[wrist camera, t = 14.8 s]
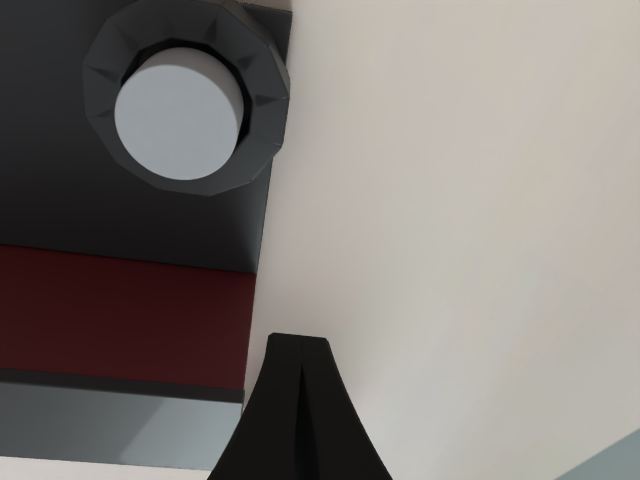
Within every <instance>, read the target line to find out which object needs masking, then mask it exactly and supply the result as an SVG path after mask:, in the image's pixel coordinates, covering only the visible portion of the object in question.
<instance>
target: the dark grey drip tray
mask: <svg viewBox="0 0 640 480" xmlns="http://www.w3.org/2000/svg"><path fill="white" fill-rule="evenodd" d="M291 23H292V12H290V11H285V10H279V9H274V8H269V7H263V6H258V5H253V4H247V3H242V2H236V1H235V0H0V244H8V245H17V246H25V247H34V248H42V249H50V250H59V251H67V252H76V253H84V254H92V255H101V256H109V257H118V258H126V259H134V260H143V261H151V262H160V263H168V264H176V265H185V266H193V267H202V268H210V269H218V270H227V271H235V272H244V273H252V274H257V269H258V262H259V255H260V248H261V240H262V233H263V226H264V219H265V211H266V204H267V197H268V190H269V182H270V175H271V168H272V161H273V157H274V156H275V155H276V153H277V152H278V151H279V150H280V149H281V147H282V144H283V141H284V134H285V127H286V121H287V114H288V107H289V100H290V77H289V74H288V72H287V69H286V67H285V66H286V59H287V52H288V44H289V37H290V30H291ZM175 47H185V48H192V49H197V50H200V51H203V52H205V53H207V54H209V55H211V56H213V57H214V58H216V59H217V60H219V61H220V62H221V63H222V64H223V65H225V66H226V67H227V69H228V70H229V71H230V72H231V73H232V75H233V76H234V78H235V79H236V81H237V83H238V85H239V88H240V90H241V93H242V97H243V105H244V110H243V118H242V122H241V126H240V130H239V134H238V138H237V142H236V145H235V148H234V150H233V152H232V154H231V156H230V157H229V159H228V160H227V161H226V163H225V164H224V165H223V166H222V167H220V168H219V169H218V170H216V171H215V172H213V173H211V174H209V175H207V176H205V177H201V178H197V179H191V180H178V179H172V178H167V177H164V176H161V175H158V174H156V173H154V172H152V171H150V170H148V169H147V168H145V167H144V166H142V165H141V164H140V163H139V162H137V161H136V160H135V159H134V158H133V157H132V156H131V154H130V153H129V152H128V151H127V149H126V148H125V146H124V145H123V143H122V141H121V139H120V137H119V134H118V132H117V128H116V124H115V116H114V115H115V104H116V99H117V96H118V94H119V92H120V90H121V88H122V86H123V85H124V84H125V82H126V81H127V80H128V79H129V78H130V77H131V76H132V75H133V74H134V73H135V72H136V71H137V70H138V69H139V68H140V67H141V66H142V65H143V63H144V62H146V61H147V60H148V59H149V58H150V57H151V56H153V55H154V54H156V53H158V52H160V51H163V50H166V49H169V48H175Z"/></svg>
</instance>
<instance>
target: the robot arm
mask: <svg viewBox="0 0 640 480" xmlns="http://www.w3.org/2000/svg"><path fill="white" fill-rule="evenodd" d="M207 480H393V479H392V477H391V476H390V474H389V472H388V471H387V469H386V467H385V466H384V464H383V462H382V461H381V459H380V457H379V455H378V454H377V452H376V450H375V448H374V446H373V444H372V442H371V441H370V439H369V437H368V435H367V433H366V431H365V429H364V427H363V425H362V423H361V421H360V419H359V417H358V415H357V413H356V410H355V408H354V406H353V404H352V402H351V400H350V398H349V395H348V393H347V391H346V388H345V386H344V383H343V381H342V378H341V376H340V373H339V371H338V368H337V366H336V363H335V360H334V357H333V354H332V351H331V348H330V344H329V342H328V341H327V339H326V338H321V337H312V336H302V335H292V334H283V333H272V334H270V335H269V336H268V341H267V347H266V353H265V358H264V361H263V365H262V368H261V371H260V374H259V377H258V379H257V382H256V384H255V387H254V389H253V392H252V394H251V396H250V399H249V401H248V404H247V406H246V408H245V410H244V412H243V414H242V416H241V418H240V420H239V422H238V424H237V426H236V428H235V430H234V432H233V434H232V436H231V438H230V440H229V442H228V444H227V446H226V448H225V450H224V451H223V453H222V455H221V457H220V458H219V460H218V462H217V464H216V465H215V467H214V469H213V470H212V472H211V474H210V475H209V477H208V479H207Z"/></svg>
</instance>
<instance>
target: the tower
mask: <svg viewBox="0 0 640 480" xmlns="http://www.w3.org/2000/svg"><path fill="white" fill-rule="evenodd" d="M256 277H257V274H252V273H244V272H235V271H227V270H218V269H210V268H202V267H193V266H185V265H176V264H168V263H160V262H151V261H143V260H134V259H126V258H118V257H109V256H101V255H92V254H84V253H76V252H67V251H59V250H50V249H42V248H34V247H25V246H17V245H8V244H0V456H5V457H19V458H34V459H48V460H63V461H77V462H91V463H106V464H120V465H135V466H149V467H164V468H178V469H192V470H207V471H212V470H213V469H214V467H215V465H216V464H217V462H218V460H219V458H220V457H221V455H222V453H223V451H224V450H225V448H226V446H227V444H228V442H229V440H230V438H231V436H232V434H233V432H234V430H235V428H236V426H237V424H238V422H239V420H240V418H241V416H242V411H243V404H244V396H245V391H244V382H245V374H246V365H247V356H248V347H249V338H250V330H251V321H252V312H253V303H254V294H255V285H256Z"/></svg>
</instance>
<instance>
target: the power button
mask: <svg viewBox="0 0 640 480" xmlns="http://www.w3.org/2000/svg"><path fill="white" fill-rule="evenodd" d="M243 110H244V105H243V97H242V93H241V90H240V88H239V85H238V83H237V81H236V79H235V78H234V76H233V75H232V73H231V72H230V71H229V70H228V69H227V67H226V66H225V65H223V64H222V63H221V62H220V61H219V60H217V59H216V58H214V57H213V56H211V55H209V54H207V53H205V52H203V51H200V50H197V49H192V48H185V47H175V48H169V49H166V50H163V51H160V52H158V53H156V54H154V55H153V56H151V57H150V58H149V59H148V60H147V61H146V62H144V63H143V65H142V66H141V67H140V68H139V69H138V70H137V71H136V72H135V73H134V74H133V75H132V76H131V77H130V78H129V79H128V80H127V81H126V82H125V84H124V85H123V86H122V88H121V90H120V92H119V94H118V96H117V99H116V104H115V115H114V116H115V124H116V128H117V132H118V134H119V137H120V139H121V141H122V143H123V145H124V146H125V148H126V149H127V151H128V152H129V153H130V154H131V156H132V157H133V158H134V159H135V160H136V161H137V162H139V163H140V164H141V165H142V166H144V167H145V168H147V169H148V170H150V171H152V172H154V173H156V174H158V175H161V176H164V177H167V178H172V179H178V180H191V179H197V178H201V177H205V176H207V175H209V174H211V173H213V172H215V171H216V170H218V169H219V168H220V167H222V166H223V165H224V164H225V163H226V161H227V160H228V159H229V157H230V156H231V154H232V152H233V150H234V148H235V145H236V142H237V138H238V134H239V130H240V126H241V122H242V118H243Z"/></svg>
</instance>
